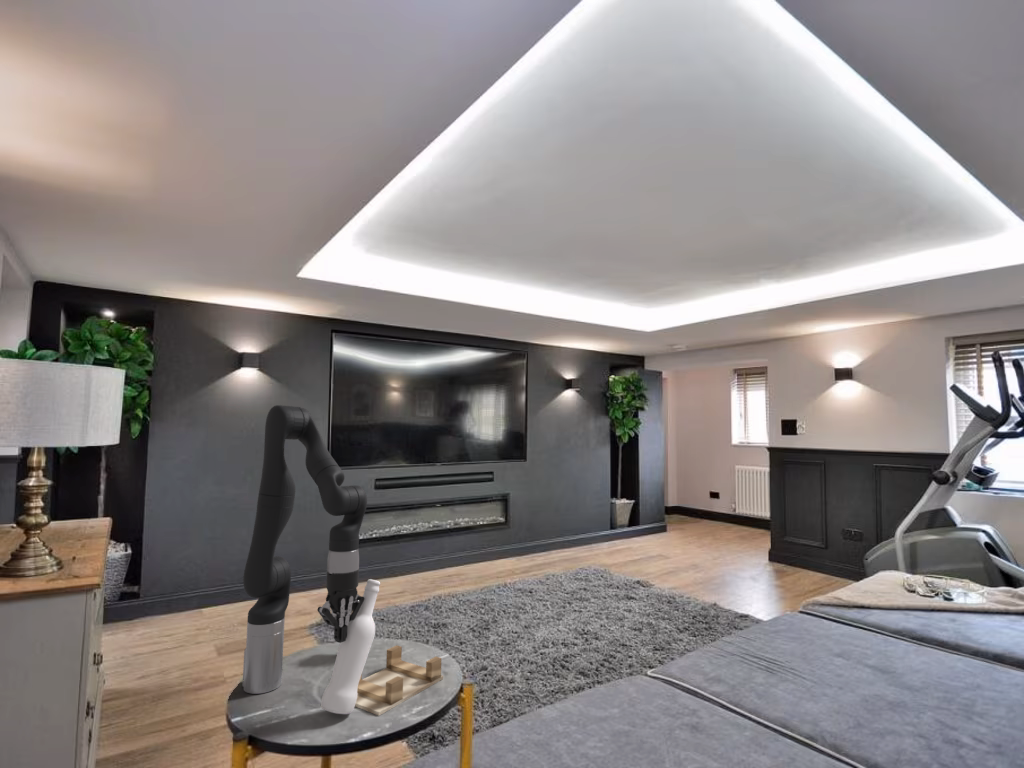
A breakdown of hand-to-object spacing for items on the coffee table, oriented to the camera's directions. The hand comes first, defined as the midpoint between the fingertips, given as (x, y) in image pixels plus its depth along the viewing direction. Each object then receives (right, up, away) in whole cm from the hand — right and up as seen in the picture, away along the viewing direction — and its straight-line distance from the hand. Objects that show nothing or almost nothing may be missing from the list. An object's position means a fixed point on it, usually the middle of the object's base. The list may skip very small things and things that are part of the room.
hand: (340, 641), depth 130 cm
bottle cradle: (+9, -19, +13) cm, 24 cm away
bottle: (0, -16, -2) cm, 16 cm away
